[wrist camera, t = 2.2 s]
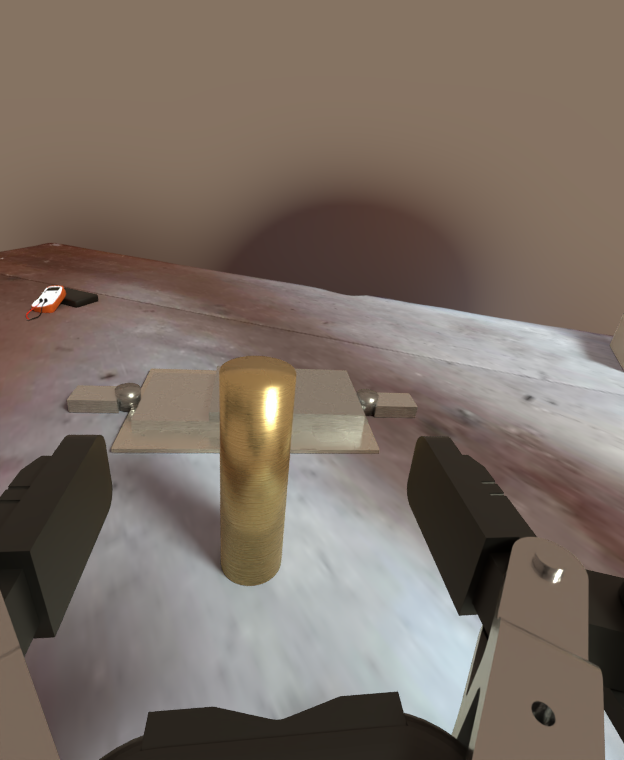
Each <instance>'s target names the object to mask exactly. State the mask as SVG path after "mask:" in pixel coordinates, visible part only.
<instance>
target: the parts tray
mask: <svg viewBox="0 0 624 760" xmlns="http://www.w3.org/2000/svg"><path fill="white" fill-rule="evenodd" d="M610 347H611V349H612V351H613V352H614V354H615V356H616V358H617V359H618V361H619V363H620V365H621V366H622V368H623V370H624V313H623V316H622V318H621V320H620V322H619V325H618V327H617V329H616V332H615V335H614V336H613V339H612V341H611V343H610Z"/></svg>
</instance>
